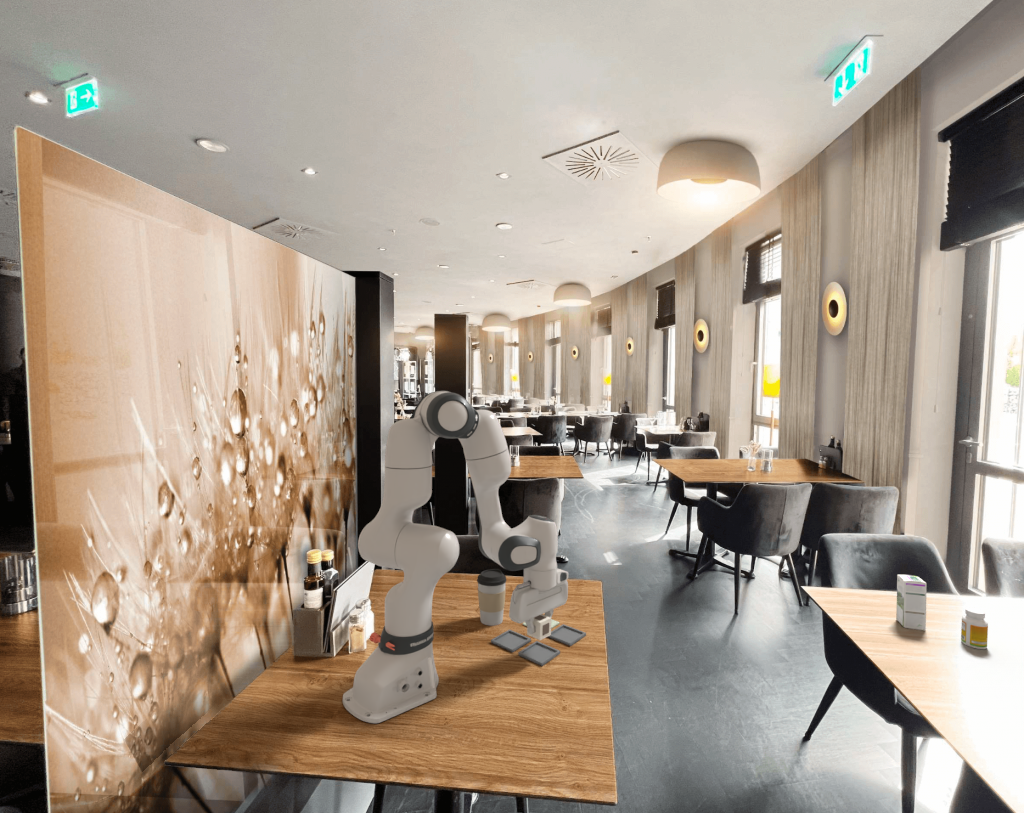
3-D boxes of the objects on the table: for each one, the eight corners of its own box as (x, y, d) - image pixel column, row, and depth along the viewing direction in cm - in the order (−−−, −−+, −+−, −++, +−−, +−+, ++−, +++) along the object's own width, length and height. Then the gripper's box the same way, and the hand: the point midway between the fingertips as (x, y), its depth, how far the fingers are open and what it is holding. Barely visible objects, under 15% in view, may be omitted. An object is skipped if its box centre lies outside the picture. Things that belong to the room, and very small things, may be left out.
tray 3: (570, 646, 138) (570, 643, 138) (547, 636, 143) (547, 634, 143) (586, 635, 144) (586, 632, 144) (563, 626, 149) (563, 624, 149)
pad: (543, 633, 145) (543, 631, 145) (522, 624, 150) (522, 623, 150) (559, 623, 151) (559, 622, 151) (538, 615, 156) (538, 614, 156)
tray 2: (542, 666, 128) (542, 663, 128) (518, 655, 133) (518, 652, 133) (560, 653, 134) (560, 650, 134) (536, 643, 139) (536, 640, 139)
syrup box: (926, 631, 147) (928, 582, 147) (902, 627, 149) (904, 580, 149) (917, 622, 153) (919, 575, 152) (894, 619, 155) (896, 573, 154)
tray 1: (512, 652, 134) (512, 649, 134) (490, 642, 140) (490, 639, 139) (530, 641, 140) (531, 638, 140) (509, 632, 146) (509, 629, 146)
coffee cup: (493, 630, 147) (493, 580, 146) (470, 621, 152) (470, 573, 151) (512, 619, 154) (512, 571, 153) (489, 610, 159) (489, 564, 159)
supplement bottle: (991, 648, 138) (993, 613, 137) (978, 651, 136) (980, 616, 136) (968, 638, 143) (970, 605, 143) (956, 641, 141) (957, 607, 141)
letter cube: (540, 640, 128) (540, 622, 128) (526, 634, 132) (527, 617, 132) (551, 635, 132) (551, 617, 132) (537, 629, 135) (538, 612, 135)
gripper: (522, 589, 122) (521, 646, 122) (572, 571, 137) (571, 621, 137) (504, 583, 126) (502, 637, 126) (554, 566, 141) (553, 615, 141)
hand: (538, 629), depth 132 cm, fingers closed on letter cube, 4 cm apart
